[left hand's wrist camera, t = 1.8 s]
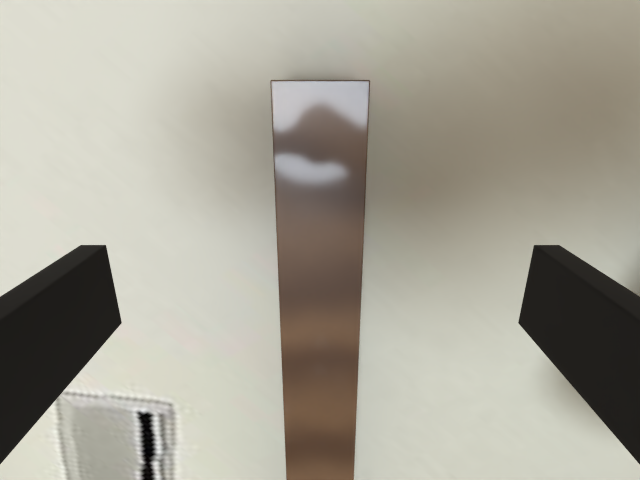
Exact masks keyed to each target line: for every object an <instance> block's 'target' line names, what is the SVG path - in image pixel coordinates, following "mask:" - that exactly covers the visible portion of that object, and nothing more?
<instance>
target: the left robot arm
mask: <svg viewBox="0 0 640 480" xmlns="http://www.w3.org/2000/svg"><path fill="white" fill-rule="evenodd" d="M120 324H121V318H120V313H119V308H118V303H117V298H116V293H115V288H114V283H113V278H112V273H111V268H110V263H109V258H108V253H107V248H106V245H80V246H79V247H77V248H76V249H74V250H73V251H71V252H69V253H68V254H66V255H65V256H63V257H62V258H60V259H59V260H57V261H55V262H54V263H52V264H51V265H49V266H48V267H46V268H45V269H43V270H41V271H40V272H38V273H37V274H35V275H34V276H32V277H30V278H29V279H27V280H26V281H24V282H23V283H21V284H20V285H18V286H16V287H15V288H13V289H12V290H10V291H9V292H7V293H6V294H4V295H2V296H1V297H0V464H1V463H2V462H3V460H4V459H5V458H6V457H7V456H8V455H9V453H10V452H11V451H12V450H13V449H14V448H15V446H16V445H17V444H18V443H19V442H20V441H21V439H22V438H23V437H24V436H25V435H26V434H27V432H28V431H29V430H30V429H31V428H32V427H33V425H34V424H35V423H36V422H37V421H38V420H39V418H40V417H41V416H42V415H43V414H44V413H45V412H46V410H47V409H48V408H49V407H50V406H51V405H52V403H53V402H54V401H55V400H56V399H57V398H58V396H59V395H60V394H61V393H62V392H63V391H64V389H65V388H66V387H67V386H68V385H69V384H70V382H71V381H72V380H73V379H74V378H75V377H76V375H77V374H78V373H79V372H80V371H81V370H82V368H83V367H84V366H85V365H86V364H87V363H88V361H89V360H90V359H91V358H92V357H93V356H94V354H95V353H96V352H97V351H98V350H99V349H100V347H101V346H102V345H103V344H104V343H105V342H106V340H107V339H108V338H109V337H110V336H111V335H112V334H113V332H114V331H115V330H116V329H117V328H118V327H119V325H120ZM519 324H520V325H521V327H522V328H523V329H524V330H525V331H526V332H527V334H528V335H529V336H530V337H531V338H532V339H533V340H534V342H535V343H536V344H537V345H538V346H539V347H540V349H541V350H542V351H543V352H544V353H545V354H546V356H547V357H548V358H549V359H550V360H551V361H552V363H553V364H554V365H555V366H556V367H557V368H558V370H559V371H560V372H561V373H562V374H563V375H564V377H565V378H566V379H567V380H568V381H569V382H570V384H571V385H572V386H573V387H574V388H575V389H576V391H577V392H578V393H579V394H580V395H581V396H582V398H583V399H584V400H585V401H586V402H587V403H588V405H589V406H590V407H591V408H592V409H593V410H594V412H595V413H596V414H597V415H598V416H599V417H600V418H601V420H602V421H603V422H604V423H605V424H606V425H607V427H608V428H609V429H610V430H611V431H612V432H613V434H614V435H615V436H616V437H617V438H618V439H619V441H620V442H621V443H622V444H623V445H624V446H625V448H626V449H627V450H628V451H629V452H630V453H631V455H632V456H633V457H634V458H635V459H636V460H637V462H638V463H639V464H640V297H639V296H638V295H636V294H634V293H633V292H631V291H630V290H628V289H627V288H625V287H624V286H622V285H620V284H619V283H617V282H616V281H614V280H613V279H611V278H610V277H608V276H606V275H605V274H603V273H602V272H600V271H599V270H597V269H595V268H594V267H592V266H591V265H589V264H588V263H586V262H585V261H583V260H581V259H580V258H578V257H577V256H575V255H574V254H572V253H571V252H569V251H567V250H566V249H564V248H563V247H561V246H560V245H534V248H533V253H532V258H531V263H530V268H529V273H528V278H527V283H526V288H525V293H524V298H523V303H522V308H521V313H520V318H519Z"/></svg>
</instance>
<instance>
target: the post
mask: <svg viewBox="0 0 640 480" xmlns="http://www.w3.org/2000/svg"><path fill="white" fill-rule="evenodd" d="M369 92H370V80H271V103H272V128H273V153H274V178H275V202H276V227H277V252H278V277H279V302H280V327H281V351H282V376H283V401H284V426H285V451H286V476H287V480H354V457H355V433H356V409H357V384H358V360H359V336H360V311H361V287H362V263H363V238H364V214H365V190H366V165H367V141H368V117H369Z"/></svg>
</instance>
